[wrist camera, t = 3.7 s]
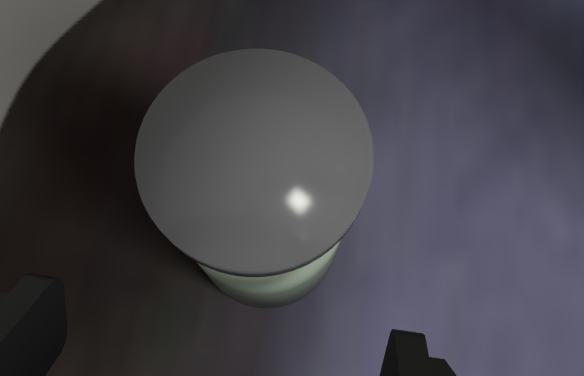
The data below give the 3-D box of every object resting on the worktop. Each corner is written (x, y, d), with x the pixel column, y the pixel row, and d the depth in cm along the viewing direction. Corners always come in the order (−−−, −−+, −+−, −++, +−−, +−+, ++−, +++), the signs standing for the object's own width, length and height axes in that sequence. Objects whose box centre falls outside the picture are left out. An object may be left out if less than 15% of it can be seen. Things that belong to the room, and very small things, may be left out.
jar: (299, 149, 25) (305, 16, 16) (365, 271, 24) (418, 203, 14) (172, 207, 24) (99, 103, 15) (231, 339, 23) (191, 315, 13)
